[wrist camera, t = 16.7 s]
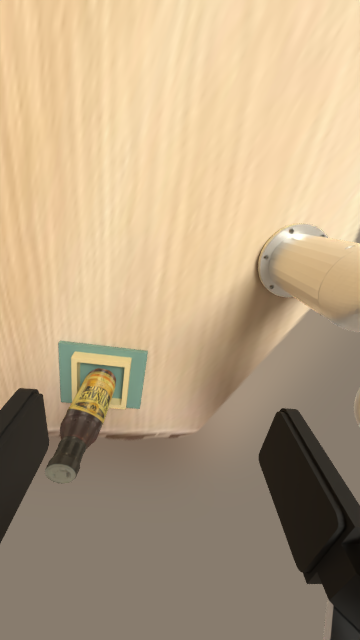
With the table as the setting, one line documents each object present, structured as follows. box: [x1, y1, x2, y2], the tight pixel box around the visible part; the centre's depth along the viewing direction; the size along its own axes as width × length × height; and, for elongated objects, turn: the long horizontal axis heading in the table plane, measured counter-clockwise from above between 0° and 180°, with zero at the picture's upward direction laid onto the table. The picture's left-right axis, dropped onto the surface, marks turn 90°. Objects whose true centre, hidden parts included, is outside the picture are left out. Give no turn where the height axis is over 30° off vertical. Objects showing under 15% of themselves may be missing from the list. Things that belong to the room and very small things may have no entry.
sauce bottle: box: [45, 368, 116, 483], centre depth 40 cm, size 7×6×20 cm
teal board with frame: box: [58, 341, 148, 409], centre depth 48 cm, size 17×15×3 cm
